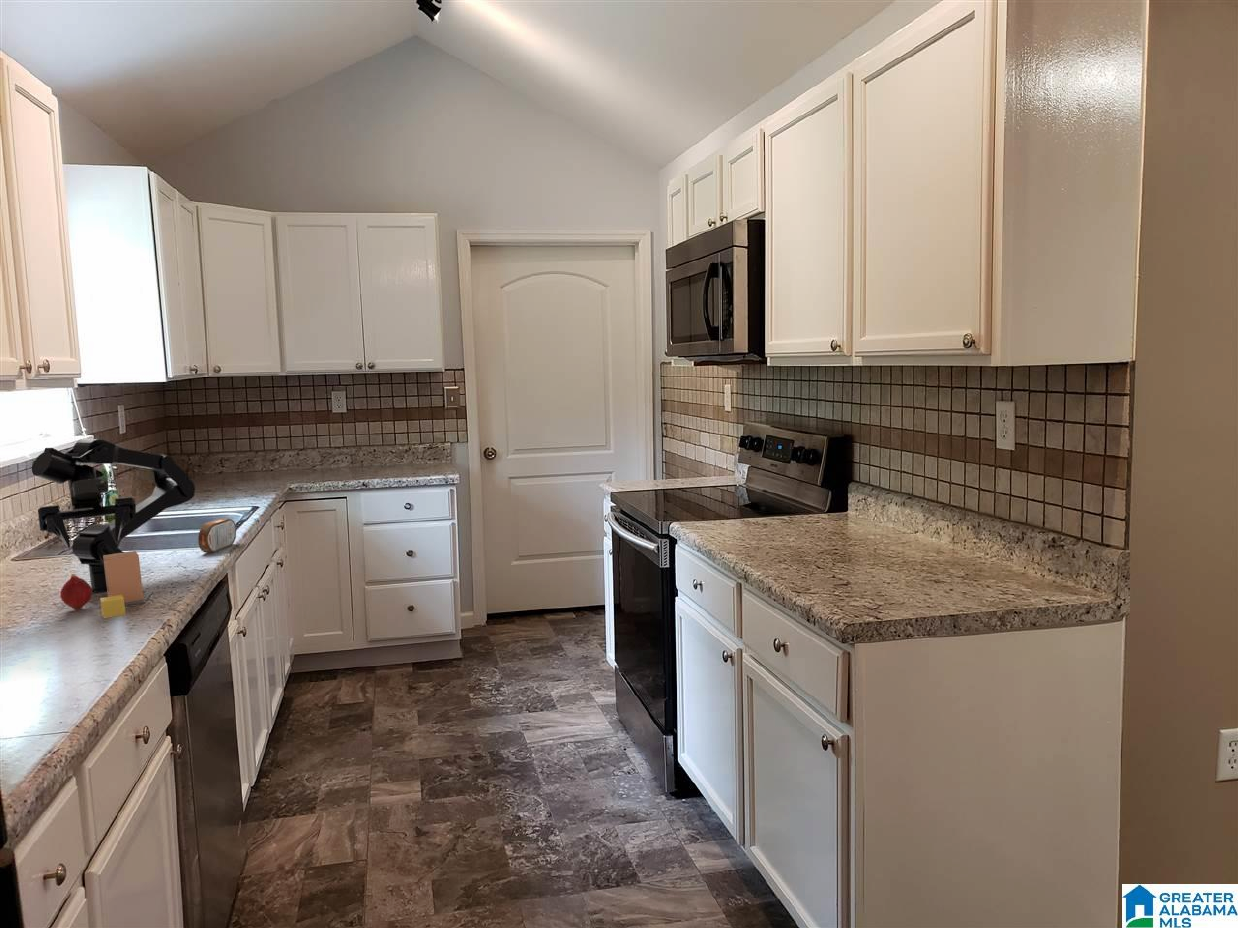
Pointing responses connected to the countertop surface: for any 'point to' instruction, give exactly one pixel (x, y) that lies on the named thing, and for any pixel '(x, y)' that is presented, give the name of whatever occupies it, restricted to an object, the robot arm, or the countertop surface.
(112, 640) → the countertop surface
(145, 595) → the mat
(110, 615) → the block
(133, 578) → the tan rectangular block
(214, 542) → the tin
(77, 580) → the onion
